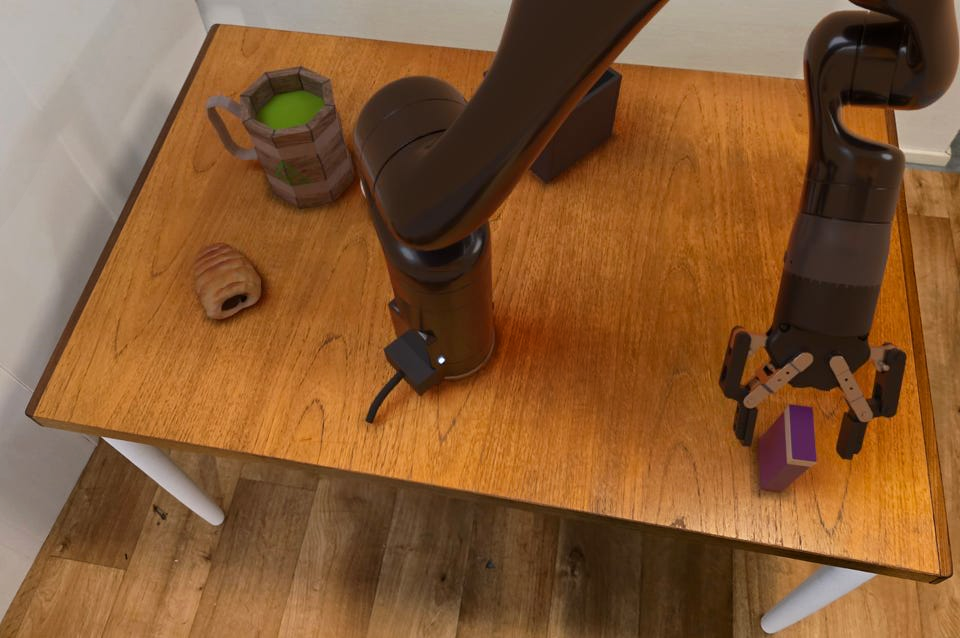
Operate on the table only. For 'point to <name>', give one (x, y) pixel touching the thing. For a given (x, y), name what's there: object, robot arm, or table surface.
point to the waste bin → (581, 128)
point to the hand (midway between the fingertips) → (793, 449)
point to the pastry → (224, 280)
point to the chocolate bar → (787, 448)
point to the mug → (291, 135)
